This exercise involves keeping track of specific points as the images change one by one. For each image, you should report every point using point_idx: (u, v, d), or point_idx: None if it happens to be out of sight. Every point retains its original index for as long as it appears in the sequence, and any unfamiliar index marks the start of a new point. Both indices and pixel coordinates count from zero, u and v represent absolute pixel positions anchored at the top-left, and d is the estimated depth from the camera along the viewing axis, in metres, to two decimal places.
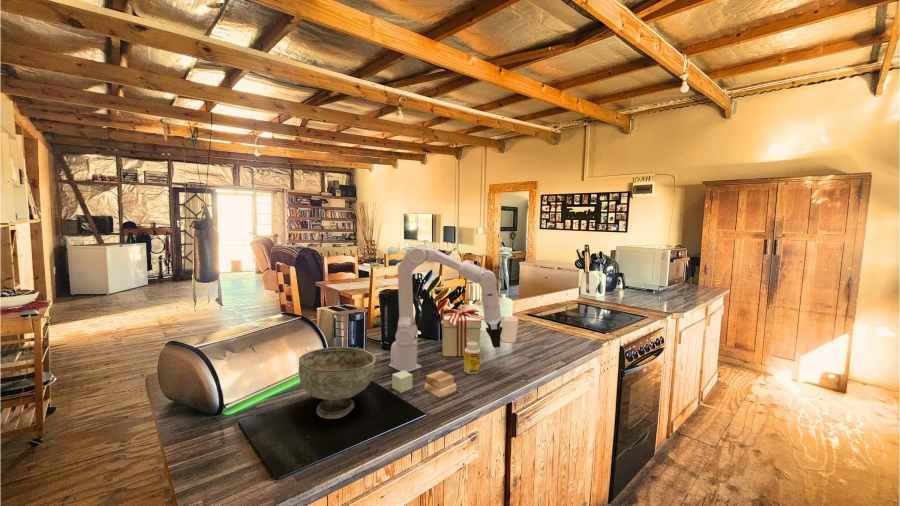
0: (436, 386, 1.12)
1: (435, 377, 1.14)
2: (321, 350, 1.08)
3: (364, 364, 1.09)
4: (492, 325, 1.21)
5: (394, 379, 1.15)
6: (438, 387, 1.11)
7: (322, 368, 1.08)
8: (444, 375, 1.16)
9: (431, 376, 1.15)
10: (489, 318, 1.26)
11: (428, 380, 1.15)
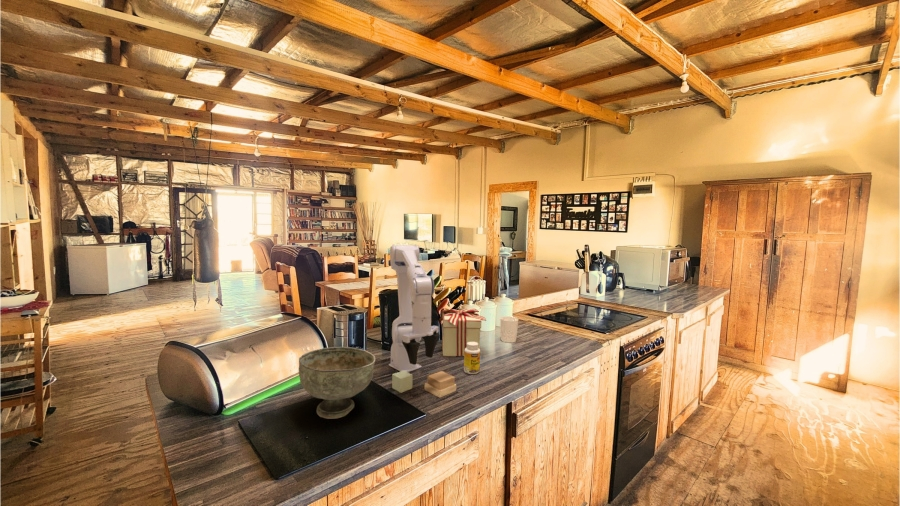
0: (437, 386, 1.12)
1: (436, 378, 1.14)
2: (321, 350, 1.08)
3: (364, 364, 1.09)
4: (404, 337, 1.07)
5: (394, 379, 1.15)
6: (439, 388, 1.11)
7: (322, 368, 1.08)
8: (446, 376, 1.15)
9: (432, 376, 1.15)
10: (413, 329, 1.11)
11: (429, 380, 1.15)
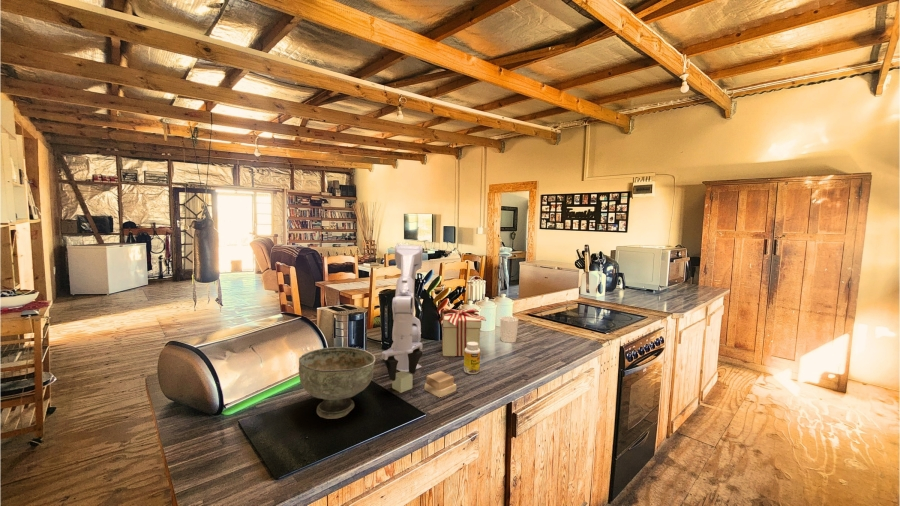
0: (436, 387, 1.12)
1: (435, 378, 1.14)
2: (321, 350, 1.08)
3: (364, 364, 1.09)
4: (382, 354, 1.10)
5: None
6: (438, 388, 1.11)
7: (322, 368, 1.08)
8: (445, 376, 1.15)
9: (431, 377, 1.14)
10: (393, 346, 1.14)
11: (428, 380, 1.15)
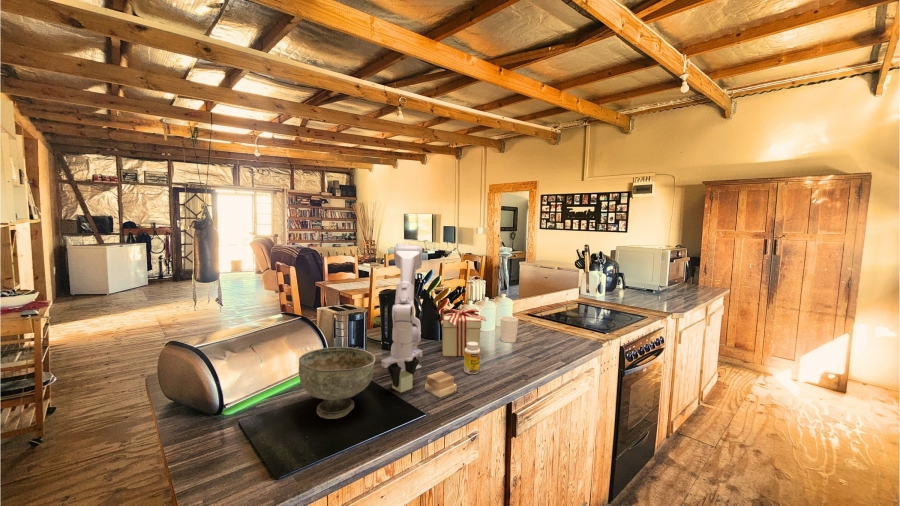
0: (436, 387, 1.12)
1: (435, 378, 1.14)
2: (321, 350, 1.08)
3: (364, 364, 1.09)
4: (382, 362, 1.11)
5: None
6: (438, 388, 1.11)
7: (322, 368, 1.08)
8: (445, 376, 1.15)
9: (431, 376, 1.15)
10: (393, 354, 1.14)
11: (428, 380, 1.15)
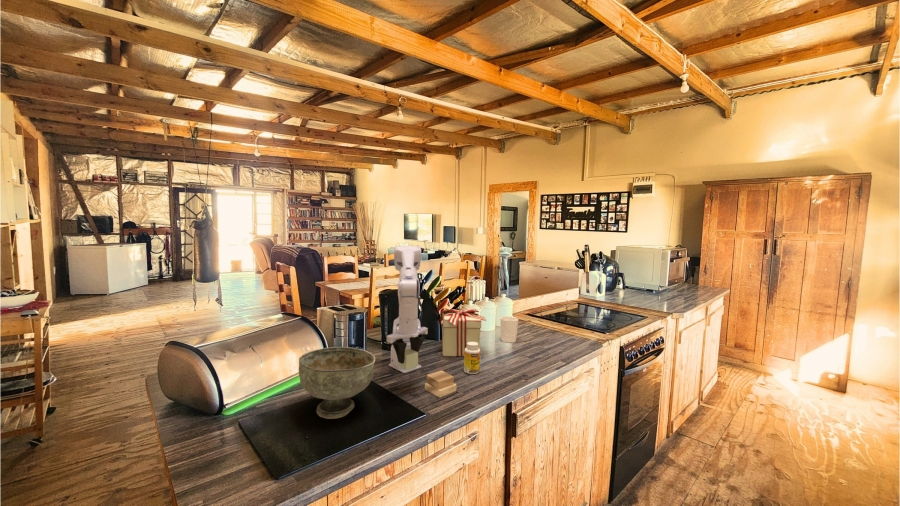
0: (435, 386, 1.12)
1: (434, 377, 1.14)
2: (321, 350, 1.08)
3: (364, 364, 1.09)
4: (387, 338, 1.10)
5: None
6: (437, 387, 1.12)
7: (322, 368, 1.08)
8: (445, 375, 1.16)
9: (431, 376, 1.15)
10: (399, 330, 1.13)
11: (428, 379, 1.15)
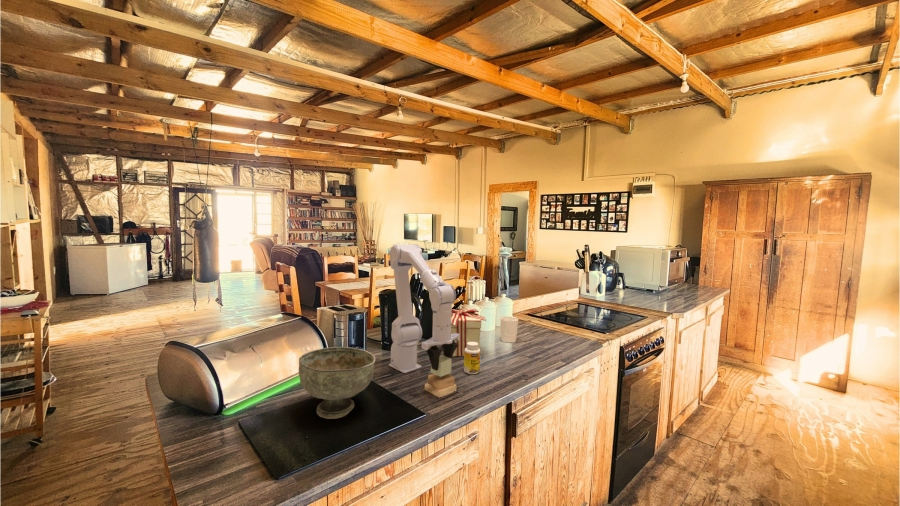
0: (436, 386, 1.12)
1: (435, 378, 1.14)
2: (321, 350, 1.08)
3: (364, 364, 1.09)
4: (422, 344, 1.09)
5: None
6: (437, 388, 1.12)
7: (322, 368, 1.08)
8: (446, 376, 1.15)
9: (432, 376, 1.15)
10: (432, 337, 1.13)
11: (429, 380, 1.15)
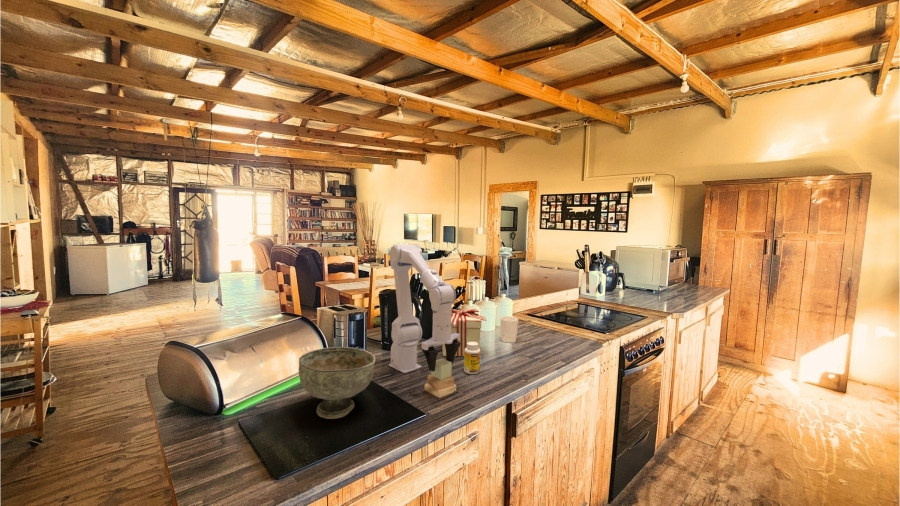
0: (435, 386, 1.12)
1: (435, 378, 1.14)
2: (321, 350, 1.08)
3: (364, 364, 1.09)
4: (422, 344, 1.09)
5: None
6: (437, 388, 1.11)
7: (322, 368, 1.08)
8: None
9: None
10: (432, 337, 1.13)
11: (429, 380, 1.15)
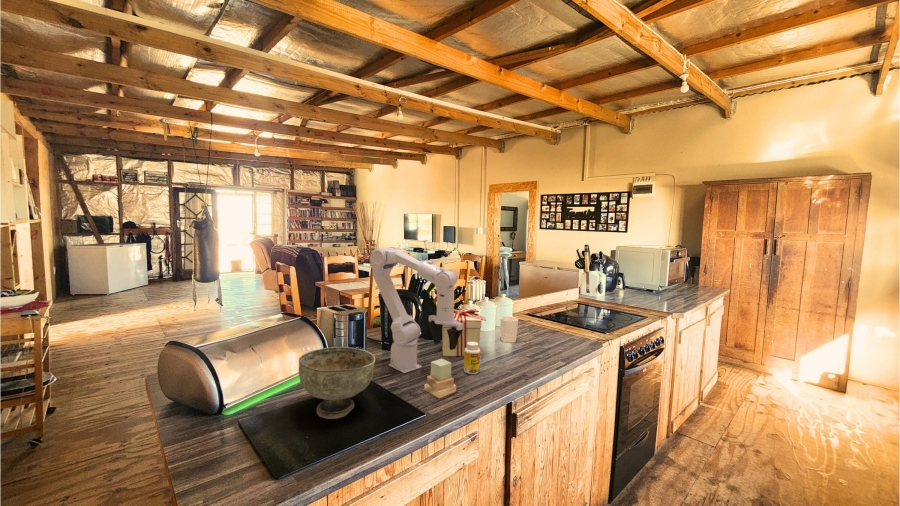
0: (434, 387, 1.12)
1: (434, 378, 1.13)
2: (321, 350, 1.08)
3: (364, 364, 1.09)
4: None
5: (433, 367, 1.14)
6: (436, 388, 1.11)
7: (322, 368, 1.08)
8: None
9: (431, 377, 1.14)
10: None
11: (428, 381, 1.15)
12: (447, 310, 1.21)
